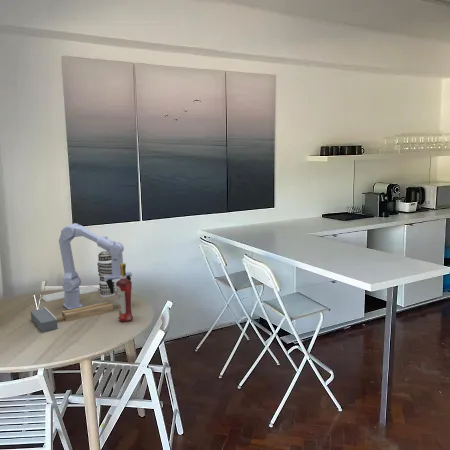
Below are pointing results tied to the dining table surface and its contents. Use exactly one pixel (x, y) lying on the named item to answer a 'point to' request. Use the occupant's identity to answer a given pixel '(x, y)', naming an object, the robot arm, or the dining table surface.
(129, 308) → the liquor
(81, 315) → the oak plank
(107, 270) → the white tower model
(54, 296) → the baseboard
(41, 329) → the groove block
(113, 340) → the dining table surface
